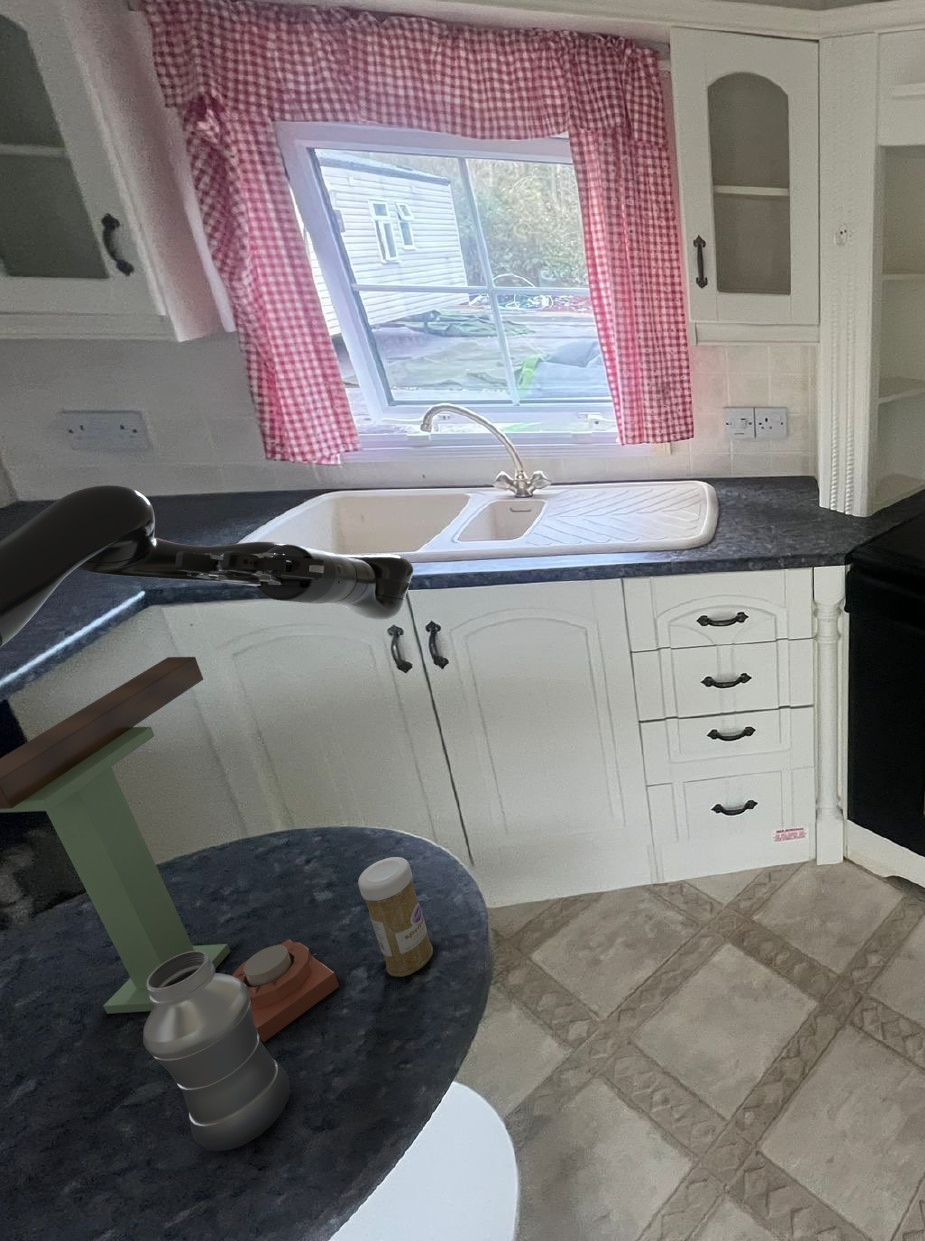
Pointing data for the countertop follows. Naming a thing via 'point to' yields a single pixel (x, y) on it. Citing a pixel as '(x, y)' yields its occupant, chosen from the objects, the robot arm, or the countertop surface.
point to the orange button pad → (289, 991)
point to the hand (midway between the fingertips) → (203, 560)
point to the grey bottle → (213, 1051)
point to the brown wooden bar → (92, 728)
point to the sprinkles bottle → (396, 915)
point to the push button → (267, 965)
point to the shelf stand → (117, 867)
